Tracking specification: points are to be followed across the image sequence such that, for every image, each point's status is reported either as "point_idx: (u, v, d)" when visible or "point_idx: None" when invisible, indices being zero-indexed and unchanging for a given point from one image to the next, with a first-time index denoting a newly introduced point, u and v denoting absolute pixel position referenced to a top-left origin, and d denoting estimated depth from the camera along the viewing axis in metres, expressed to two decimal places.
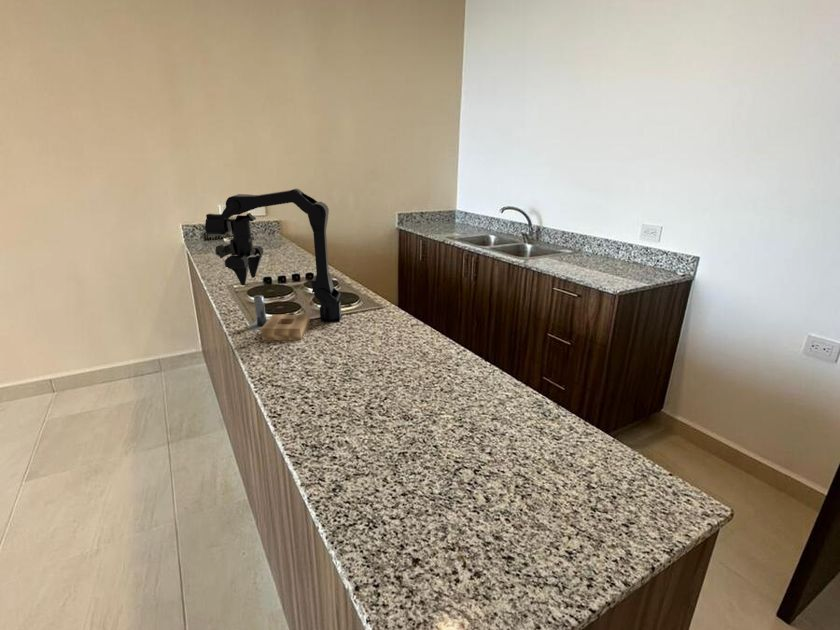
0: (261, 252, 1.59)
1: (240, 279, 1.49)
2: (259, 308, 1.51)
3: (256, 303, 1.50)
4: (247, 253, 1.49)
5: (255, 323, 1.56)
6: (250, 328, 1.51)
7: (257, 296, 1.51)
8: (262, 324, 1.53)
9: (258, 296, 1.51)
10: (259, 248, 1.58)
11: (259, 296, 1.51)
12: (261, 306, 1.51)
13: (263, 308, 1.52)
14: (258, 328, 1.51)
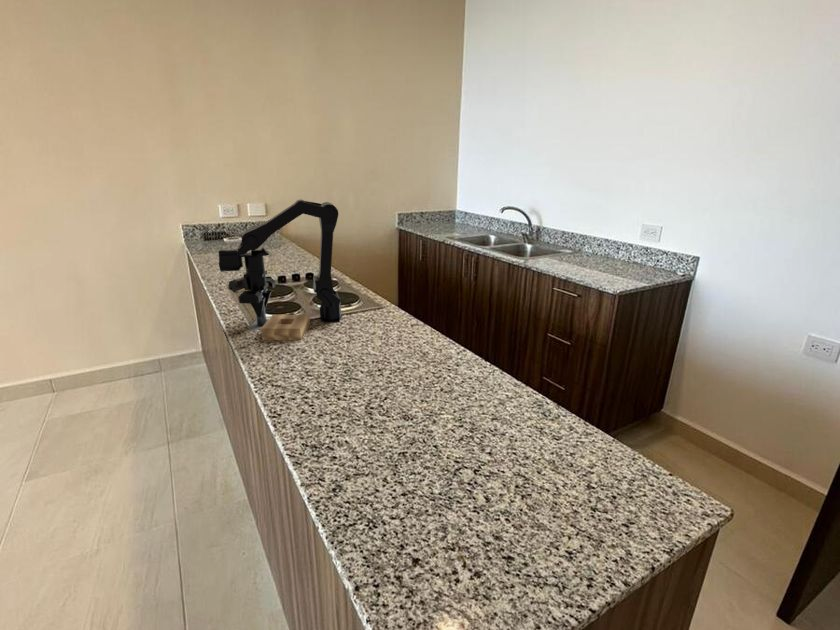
0: (273, 285, 1.57)
1: (256, 311, 1.50)
2: None
3: None
4: (260, 288, 1.47)
5: (255, 323, 1.56)
6: (250, 328, 1.51)
7: None
8: (262, 324, 1.53)
9: None
10: (271, 281, 1.56)
11: None
12: None
13: (263, 308, 1.52)
14: (258, 328, 1.51)
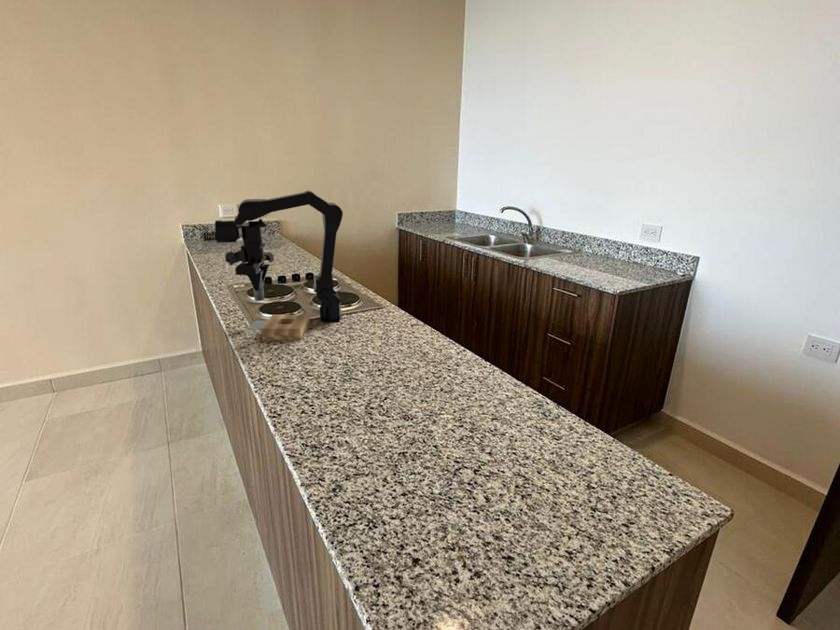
0: (271, 259, 1.53)
1: (254, 284, 1.47)
2: None
3: None
4: (258, 260, 1.44)
5: (255, 323, 1.56)
6: (250, 328, 1.51)
7: None
8: (260, 298, 1.50)
9: None
10: (269, 255, 1.53)
11: None
12: None
13: (261, 282, 1.48)
14: (258, 328, 1.51)
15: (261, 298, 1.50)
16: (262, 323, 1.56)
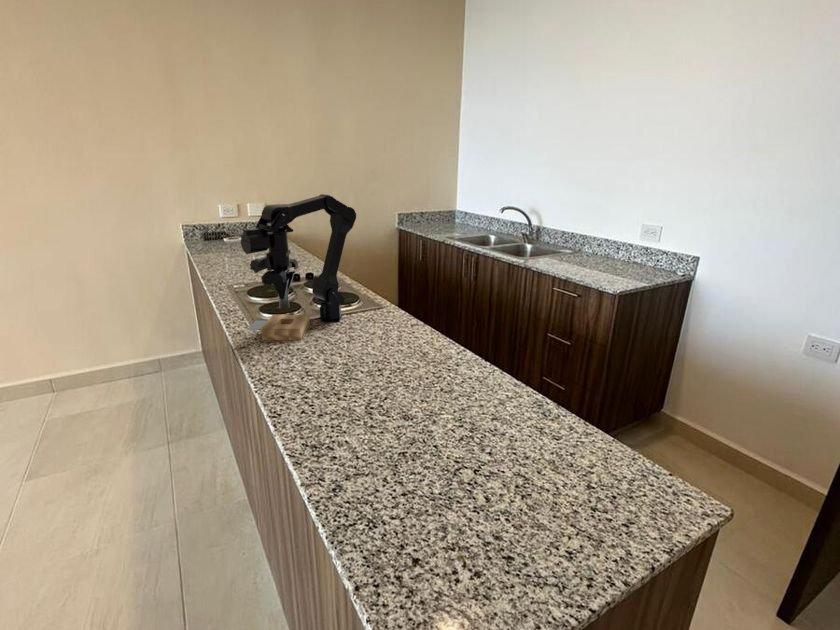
0: (296, 266, 1.48)
1: (279, 293, 1.42)
2: None
3: None
4: (284, 268, 1.39)
5: (255, 323, 1.56)
6: (250, 328, 1.51)
7: None
8: (285, 307, 1.44)
9: None
10: (294, 262, 1.48)
11: None
12: None
13: (286, 290, 1.43)
14: (258, 328, 1.51)
15: (286, 307, 1.45)
16: (262, 323, 1.56)
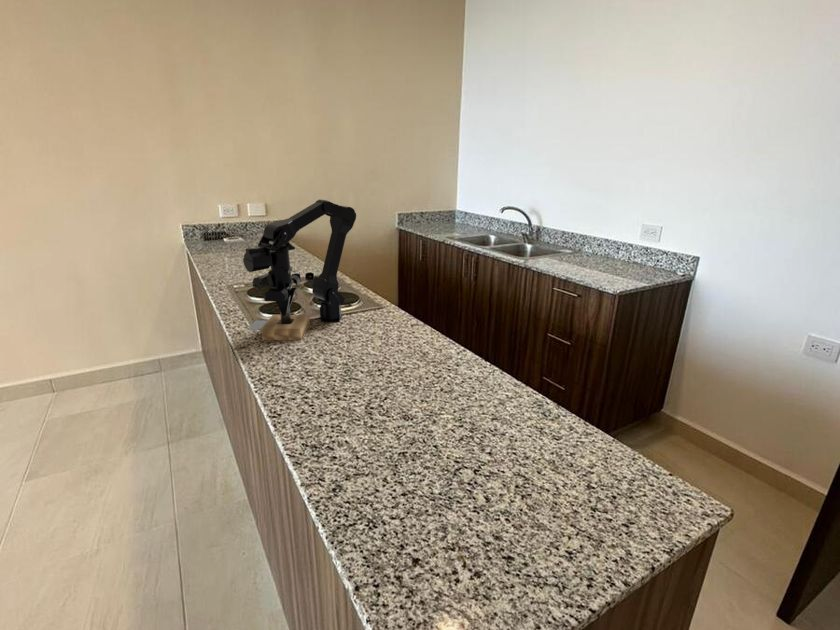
0: (298, 282, 1.50)
1: (281, 309, 1.43)
2: None
3: None
4: (286, 285, 1.41)
5: (255, 323, 1.56)
6: (250, 328, 1.51)
7: None
8: (286, 323, 1.46)
9: None
10: (296, 278, 1.50)
11: None
12: None
13: (288, 306, 1.45)
14: (258, 328, 1.51)
15: (288, 323, 1.47)
16: (262, 323, 1.56)
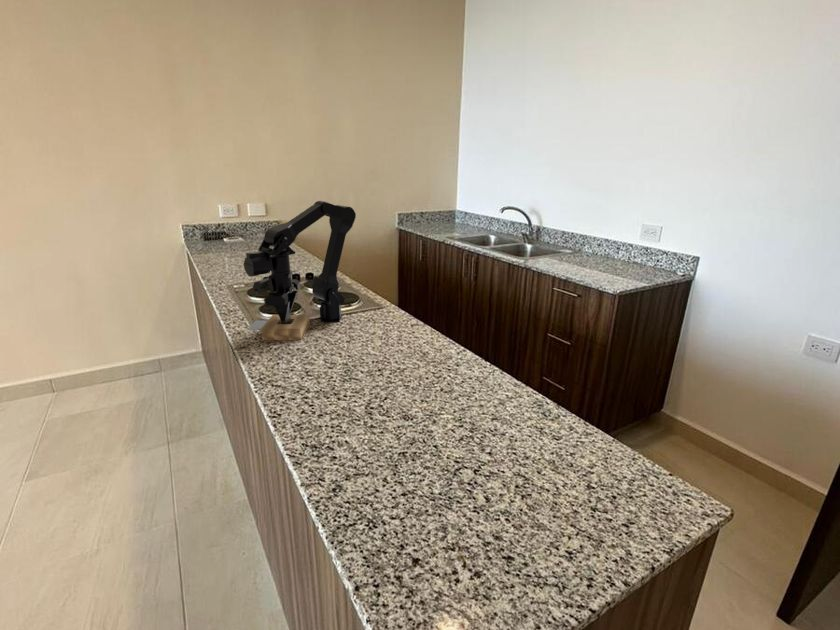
0: (298, 286, 1.51)
1: (280, 315, 1.43)
2: None
3: None
4: (286, 289, 1.41)
5: (255, 323, 1.56)
6: (250, 328, 1.51)
7: None
8: None
9: None
10: (296, 282, 1.50)
11: None
12: (287, 313, 1.45)
13: (289, 316, 1.46)
14: (258, 328, 1.51)
15: None
16: (262, 323, 1.56)
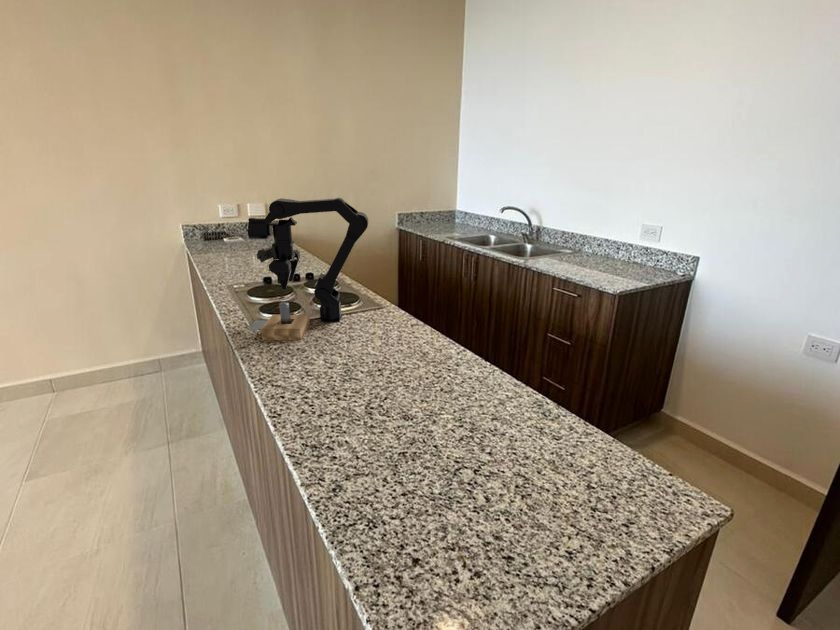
0: (298, 256, 1.59)
1: (282, 283, 1.50)
2: (284, 315, 1.45)
3: (281, 310, 1.45)
4: (289, 257, 1.50)
5: (255, 323, 1.56)
6: (250, 328, 1.51)
7: (282, 303, 1.45)
8: None
9: (283, 303, 1.45)
10: (297, 252, 1.59)
11: (285, 303, 1.45)
12: (286, 313, 1.45)
13: (289, 316, 1.46)
14: (258, 328, 1.51)
15: None
16: (262, 323, 1.56)
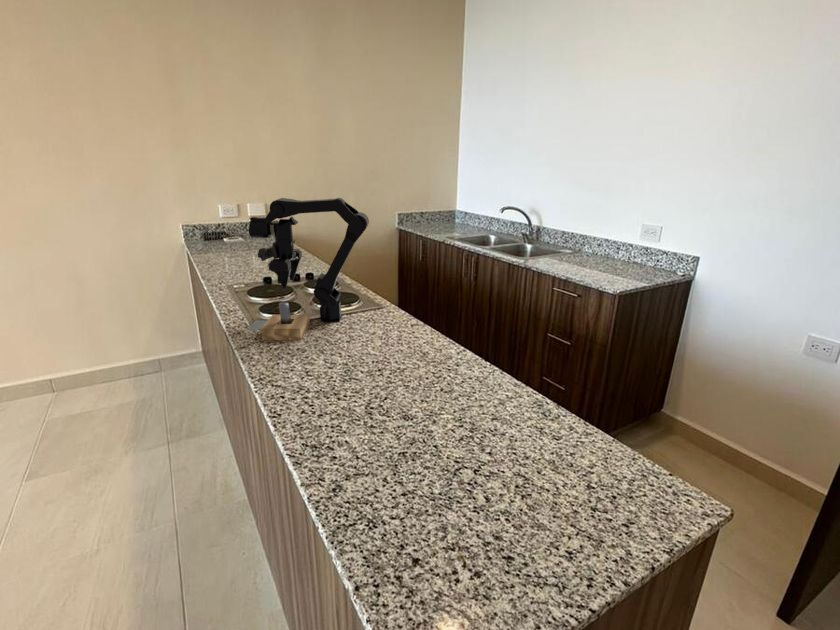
0: (300, 255, 1.60)
1: (282, 282, 1.51)
2: (284, 315, 1.45)
3: (281, 310, 1.45)
4: (289, 256, 1.51)
5: (255, 323, 1.56)
6: (250, 328, 1.51)
7: (282, 303, 1.45)
8: None
9: (283, 303, 1.45)
10: (298, 251, 1.60)
11: (284, 303, 1.45)
12: (286, 313, 1.45)
13: (288, 316, 1.46)
14: (258, 328, 1.51)
15: None
16: (262, 323, 1.56)
